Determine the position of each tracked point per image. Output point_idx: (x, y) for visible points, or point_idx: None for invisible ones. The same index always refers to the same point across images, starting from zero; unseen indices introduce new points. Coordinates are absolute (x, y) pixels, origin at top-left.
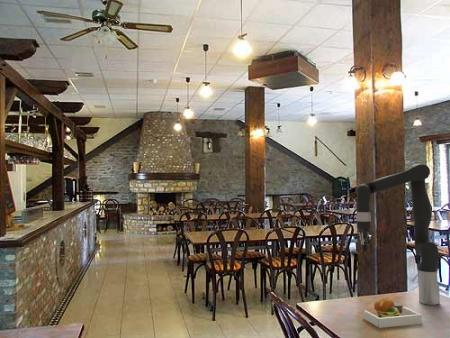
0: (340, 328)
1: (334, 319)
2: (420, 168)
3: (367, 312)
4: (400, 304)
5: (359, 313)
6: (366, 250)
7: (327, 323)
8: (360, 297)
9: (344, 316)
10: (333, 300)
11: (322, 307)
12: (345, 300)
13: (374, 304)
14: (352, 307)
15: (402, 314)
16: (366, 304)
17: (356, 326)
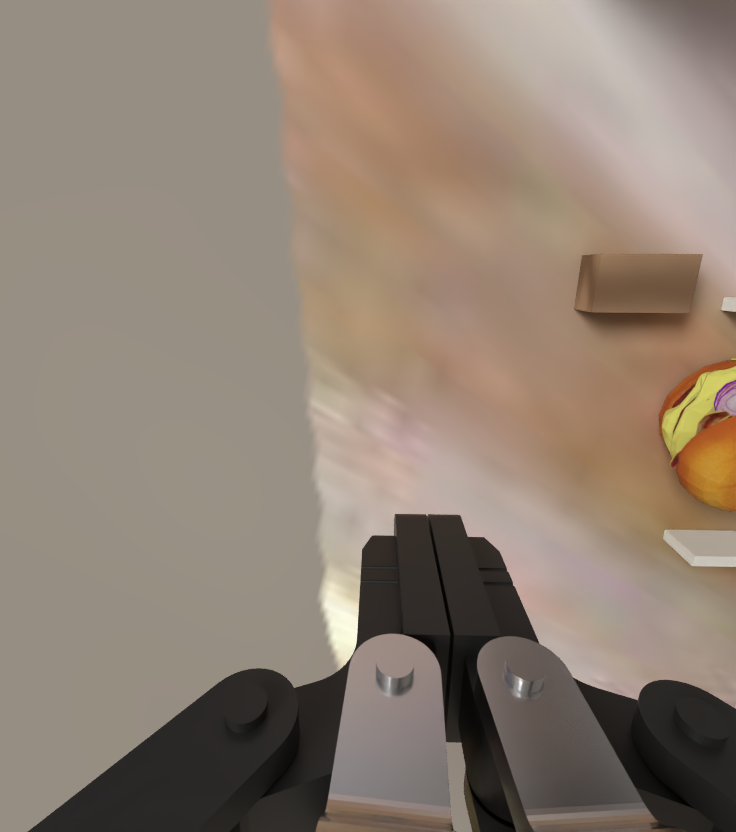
0: (710, 677)
1: (608, 652)
2: None
3: (731, 566)
4: (675, 257)
5: (586, 516)
6: (487, 552)
7: (637, 694)
8: (317, 346)
9: (593, 599)
10: (337, 529)
11: None
12: (354, 468)
13: (710, 505)
14: (486, 498)
15: (725, 310)
16: (464, 394)
17: (726, 615)
